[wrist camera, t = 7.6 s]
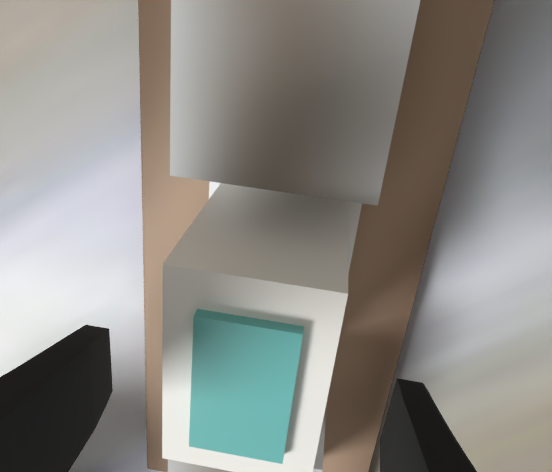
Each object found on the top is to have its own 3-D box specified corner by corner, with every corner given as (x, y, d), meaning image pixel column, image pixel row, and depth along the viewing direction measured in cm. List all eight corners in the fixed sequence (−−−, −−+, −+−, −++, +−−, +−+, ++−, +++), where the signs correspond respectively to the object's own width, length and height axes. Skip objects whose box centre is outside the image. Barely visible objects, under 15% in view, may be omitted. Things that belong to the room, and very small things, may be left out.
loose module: (348, 193, 16) (348, 301, 10) (321, 344, 18) (309, 496, 13) (225, 176, 16) (157, 271, 10) (216, 326, 19) (158, 467, 13)
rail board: (516, -121, 13) (620, -198, 8) (357, 489, 23) (360, 618, 18) (149, -155, 14) (36, -244, 9) (154, 451, 24) (105, 565, 19)
